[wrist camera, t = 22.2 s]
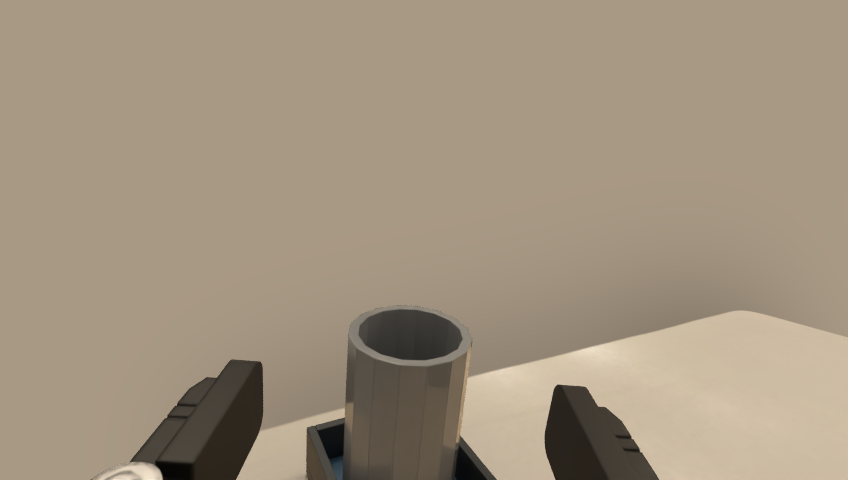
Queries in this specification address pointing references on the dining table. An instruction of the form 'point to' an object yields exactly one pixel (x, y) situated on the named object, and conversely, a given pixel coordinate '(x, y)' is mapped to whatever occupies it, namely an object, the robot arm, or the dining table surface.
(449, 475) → the tumbler
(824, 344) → the dining table surface
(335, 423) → the tray
